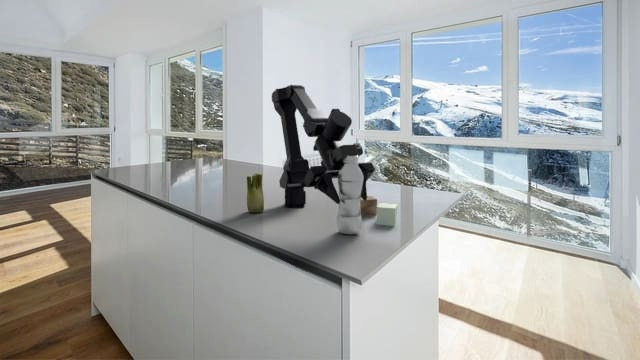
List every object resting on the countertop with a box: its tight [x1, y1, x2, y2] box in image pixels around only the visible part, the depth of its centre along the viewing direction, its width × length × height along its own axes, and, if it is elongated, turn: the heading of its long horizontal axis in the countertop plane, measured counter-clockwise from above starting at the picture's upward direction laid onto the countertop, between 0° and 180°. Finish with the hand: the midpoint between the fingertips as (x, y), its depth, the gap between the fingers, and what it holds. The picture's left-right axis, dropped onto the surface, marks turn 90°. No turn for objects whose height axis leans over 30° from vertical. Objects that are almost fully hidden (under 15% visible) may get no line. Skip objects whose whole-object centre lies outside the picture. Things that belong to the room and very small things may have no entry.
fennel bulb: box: [246, 173, 265, 214], centre depth 112 cm, size 6×5×12 cm
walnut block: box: [360, 195, 378, 217], centre depth 112 cm, size 5×5×5 cm
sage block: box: [375, 202, 398, 227], centre depth 102 cm, size 5×5×5 cm
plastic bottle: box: [335, 155, 364, 235], centre depth 92 cm, size 6×7×20 cm
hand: (352, 201), depth 91 cm, fingers open, 8 cm apart
